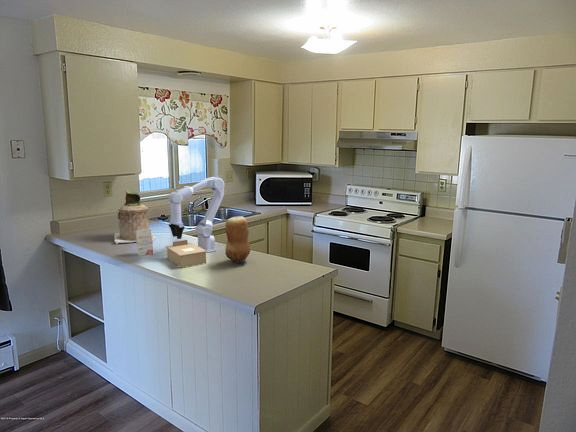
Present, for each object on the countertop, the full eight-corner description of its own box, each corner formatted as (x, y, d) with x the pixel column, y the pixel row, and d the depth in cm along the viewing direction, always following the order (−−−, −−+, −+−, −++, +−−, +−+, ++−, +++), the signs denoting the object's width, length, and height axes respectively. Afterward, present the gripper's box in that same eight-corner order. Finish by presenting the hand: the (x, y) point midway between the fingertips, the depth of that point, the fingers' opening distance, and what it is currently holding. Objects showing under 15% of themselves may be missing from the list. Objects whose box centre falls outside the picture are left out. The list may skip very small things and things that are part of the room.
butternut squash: (223, 259, 233) (222, 215, 228) (247, 257, 238) (246, 213, 233) (229, 267, 221) (227, 220, 216) (254, 264, 225) (253, 218, 220)
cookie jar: (156, 241, 271) (153, 191, 265) (114, 245, 262) (110, 193, 256) (152, 232, 294) (150, 186, 287) (114, 235, 285) (110, 188, 279)
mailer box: (191, 254, 243) (190, 244, 242) (206, 263, 227) (205, 252, 226) (167, 258, 235) (166, 248, 234) (181, 268, 219) (180, 256, 218)
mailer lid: (191, 243, 242) (191, 238, 242) (206, 251, 226) (206, 246, 225) (166, 247, 234) (165, 242, 233) (180, 256, 218) (180, 250, 217)
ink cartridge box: (153, 252, 248) (152, 227, 245) (153, 254, 243) (151, 229, 240) (138, 253, 245) (136, 228, 242) (137, 255, 241) (135, 230, 238)
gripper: (164, 212, 240) (165, 235, 243) (173, 216, 228) (174, 241, 231) (176, 211, 244) (177, 234, 247) (186, 215, 232) (187, 239, 235)
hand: (177, 237), depth 239 cm, fingers open, 6 cm apart
